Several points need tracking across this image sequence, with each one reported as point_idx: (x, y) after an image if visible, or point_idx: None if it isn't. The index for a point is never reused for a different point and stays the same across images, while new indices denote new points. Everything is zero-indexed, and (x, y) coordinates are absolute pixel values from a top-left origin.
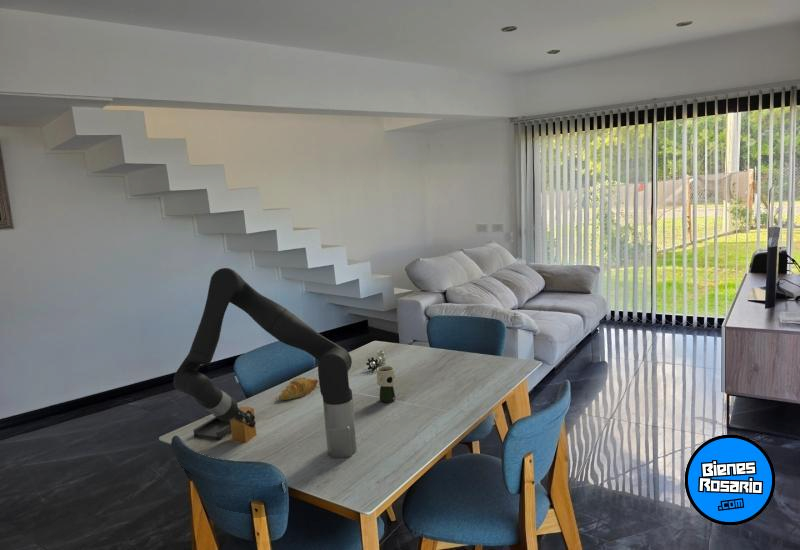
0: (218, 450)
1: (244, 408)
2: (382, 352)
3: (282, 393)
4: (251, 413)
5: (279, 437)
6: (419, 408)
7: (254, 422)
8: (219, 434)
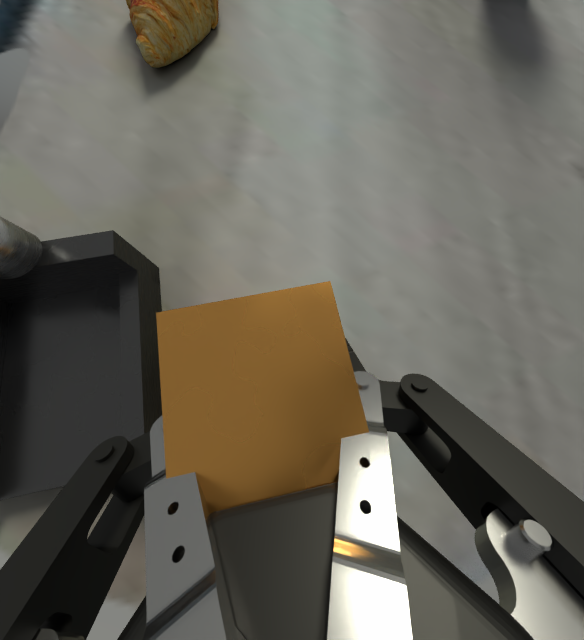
0: None
1: (247, 334)
2: None
3: (146, 23)
4: (562, 489)
5: (418, 309)
6: None
7: (350, 351)
8: None
